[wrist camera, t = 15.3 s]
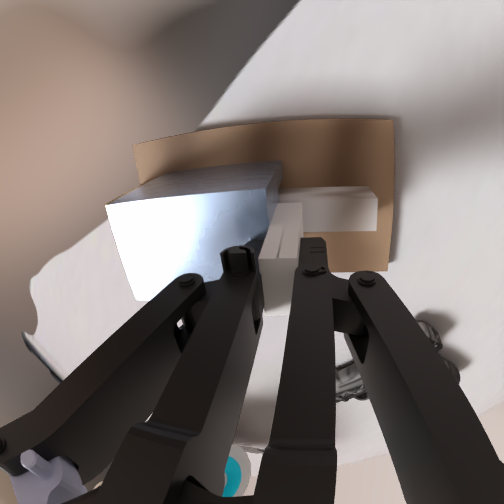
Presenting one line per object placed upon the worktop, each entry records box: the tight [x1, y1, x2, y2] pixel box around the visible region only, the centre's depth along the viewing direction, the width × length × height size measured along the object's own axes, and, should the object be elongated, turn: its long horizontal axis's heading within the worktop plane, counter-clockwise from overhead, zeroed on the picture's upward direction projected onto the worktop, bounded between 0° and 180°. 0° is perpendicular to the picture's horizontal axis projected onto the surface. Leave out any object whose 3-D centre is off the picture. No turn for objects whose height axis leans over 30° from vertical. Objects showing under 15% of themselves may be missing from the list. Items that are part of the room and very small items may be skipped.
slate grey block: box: [106, 160, 283, 301], centre depth 18 cm, size 9×6×8 cm
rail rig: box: [105, 119, 395, 272], centre depth 19 cm, size 20×12×6 cm, turn 97°
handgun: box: [336, 321, 460, 403], centre depth 29 cm, size 20×3×14 cm
